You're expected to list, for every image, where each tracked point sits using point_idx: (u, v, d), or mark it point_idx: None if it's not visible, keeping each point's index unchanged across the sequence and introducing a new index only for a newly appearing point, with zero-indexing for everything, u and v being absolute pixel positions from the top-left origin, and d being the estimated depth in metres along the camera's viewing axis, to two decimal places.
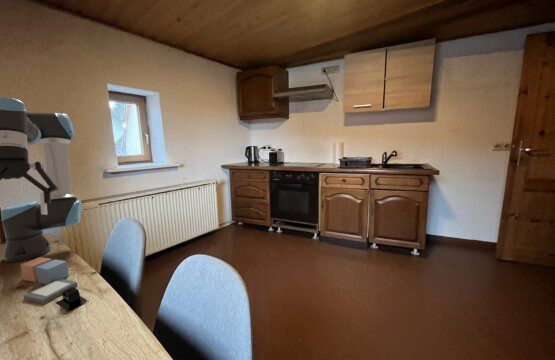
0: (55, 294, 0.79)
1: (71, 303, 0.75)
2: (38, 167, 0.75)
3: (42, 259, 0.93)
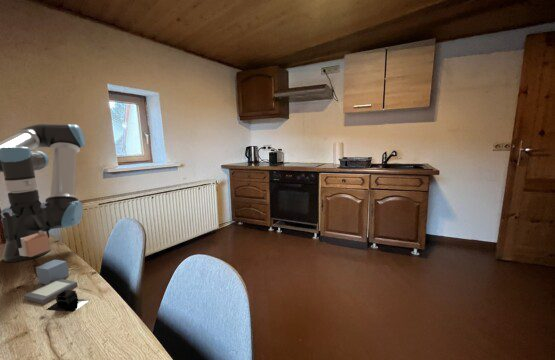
0: (55, 294, 0.79)
1: (71, 304, 0.74)
2: (48, 207, 0.94)
3: (38, 234, 0.92)
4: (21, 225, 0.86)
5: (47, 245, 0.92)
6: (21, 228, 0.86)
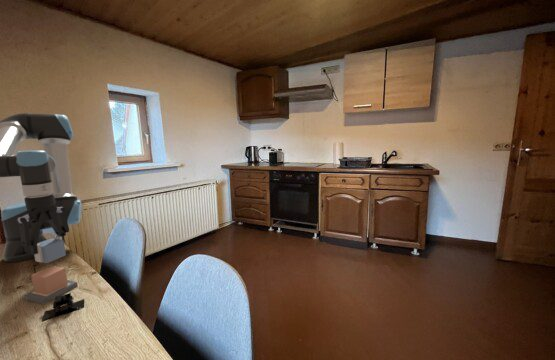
0: (55, 294, 0.79)
1: (72, 305, 0.74)
2: (63, 212, 0.92)
3: (55, 268, 0.83)
4: (37, 230, 0.84)
5: (64, 280, 0.83)
6: (37, 234, 0.84)
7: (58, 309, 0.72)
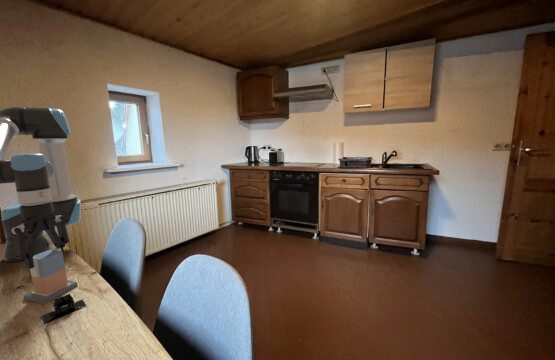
0: (55, 294, 0.79)
1: (73, 305, 0.74)
2: (62, 221, 0.84)
3: None
4: (34, 242, 0.76)
5: (64, 280, 0.83)
6: (34, 245, 0.76)
7: (58, 311, 0.72)
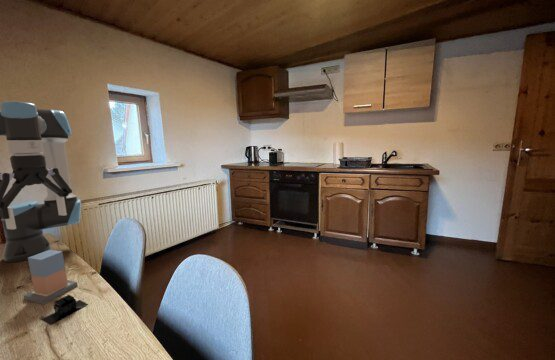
0: (55, 294, 0.79)
1: None
2: (57, 173, 0.82)
3: None
4: (16, 192, 0.72)
5: (64, 280, 0.83)
6: (14, 196, 0.71)
7: (60, 312, 0.71)
